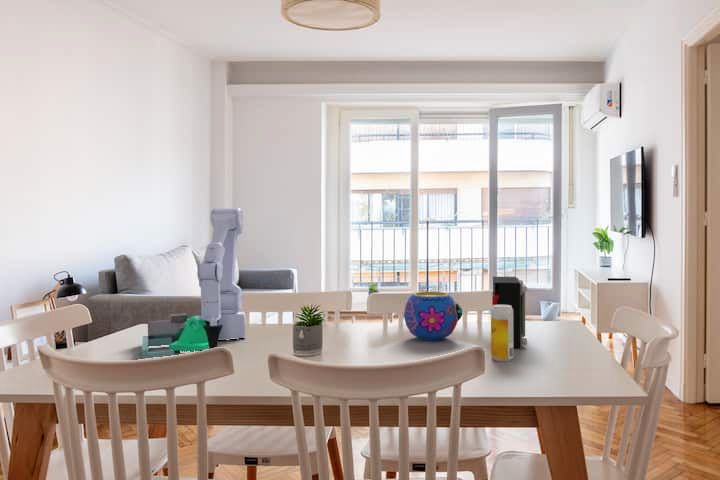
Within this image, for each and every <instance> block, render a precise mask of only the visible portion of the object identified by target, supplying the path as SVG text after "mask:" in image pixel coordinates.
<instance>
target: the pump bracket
mask: <svg viewBox="0 0 720 480" xmlns="http://www.w3.org/2000/svg"><path fill="white" fill-rule="evenodd" d="M171 343H172V337H171V338H159V339H148V335H144V336H142V344H141V360H142V359H145V358H153V357H163V356H171V355H174V356H175V350H170V349H169V350H161V351H160V350H159V351H149V349H148V347H149V346H161V345H169V344H171Z"/></svg>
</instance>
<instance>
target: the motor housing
mask: <svg viewBox="0 0 720 480" xmlns="http://www.w3.org/2000/svg"><path fill="white" fill-rule="evenodd" d="M188 319H189V318H188V314H187V312H184V313H183V312H182V313H171V314H170V319H162V320H160V319H159V320H148V321H147V336H148V339H159V338H171V337H172V343H174V342H176V341H178V339H179V338H180V336H181V334H182V332H183V331H184V329H185V327H186V322H187V320H188ZM194 324H195V325H196V323H195V322H194Z"/></svg>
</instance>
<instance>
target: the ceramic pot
mask: <svg viewBox="0 0 720 480" xmlns="http://www.w3.org/2000/svg"><path fill="white" fill-rule="evenodd" d="M462 316H463V308H462V307H461V305H460V304H459V303H456V301H455V300H454V299H453V297H452V296H451V295H450V294H449V293H447V292H443V291H419V292H415V293H413V294H411V296H410V297H409V298H408V299H407V302H406V303H405V306H404V311H403V317H404V318H403V319H404V322H405V326H406V327H407V330H408V331H409V333H410V334H411V335H412V336H413V337H414V336H415V337H416V338H418V339H420V340H425V341H428V342H429V341H431V342H433V341H440V340H443V339H446V338H447V337H448V336H450V335H452V334H453V332H454V331H455V328H456V326H457V325H458V322H459V321H460V319H461V318H462Z"/></svg>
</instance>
